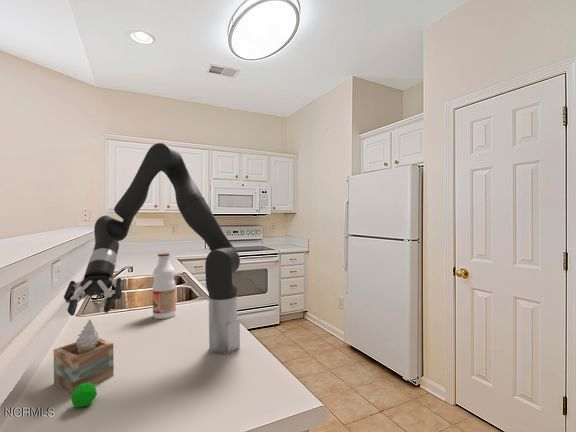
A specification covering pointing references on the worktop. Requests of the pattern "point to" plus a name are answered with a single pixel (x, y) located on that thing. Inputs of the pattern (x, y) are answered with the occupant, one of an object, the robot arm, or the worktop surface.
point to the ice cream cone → (87, 338)
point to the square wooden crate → (82, 365)
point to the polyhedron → (84, 395)
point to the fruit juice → (164, 288)
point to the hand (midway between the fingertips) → (88, 312)
